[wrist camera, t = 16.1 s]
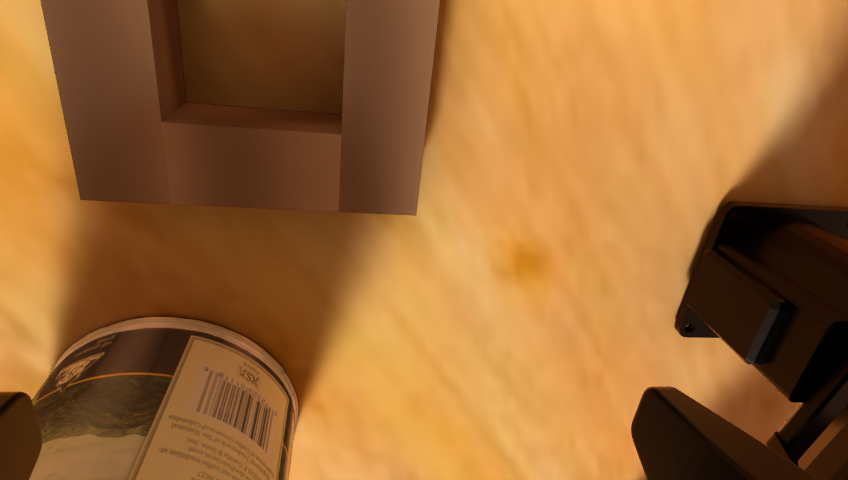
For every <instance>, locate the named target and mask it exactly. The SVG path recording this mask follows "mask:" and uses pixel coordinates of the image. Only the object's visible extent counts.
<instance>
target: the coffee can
mask: <svg viewBox="0 0 848 480" xmlns="http://www.w3.org/2000/svg"><path fill="white" fill-rule="evenodd" d="M32 404H33V407H34V410H35V413H36V417H37V420H38V423H39V427H40V430H41V433H42V448H41V452H40V455H39V457H38V460H37V462H36V465H35V467H34V469H33V472H32V474H31V477H30V479H29V480H289V472H290V464H291V456H292V448H293V439H294V434H295V431H296V426H297V421H298V401H297V397H296V393H295V390H294V387H293V385H292V383H291V381H290V379H289V377H288V376H287V374H286V372H285V371H284V369H283V367H282V366H280V365H279V364H278V362H277V361H276V360H275V359H274V358H272V357H271V356H270V355H269V354H268V353H267V352H266V351H265V350H264V349H262V348H261V347H260V346H258V345H257V344H255V343H254V342H252V341H251V340H249V339H247V338H246V337H244V336H242V335H240V334H238V333H236V332H233V331H231V330H229V329H226V328H223V327H221V326H217V325H214V324H210V323H207V322H204V321H201V320H194V319H183V318H177V317H145V318H138V319H132V320H126V321H122V322H118V323H115V324H112V325H109V326H106V327H103V328H100V329H98V330H96V331H93V332H91V333H90V334H88V335H86V336H85V337H83V338H82V339H80V340H79V341H77V342H76V343H74V344H73V345H72V346H71V347H70V348H69V349H68V350H67V351H66V352H65V353H64V354H63V355H62V356H61V357H60V358H59V360H58V361H57V362H56V364H55V365H54V367H53V369H52V371H51V373H50V375H49V377H48V378H47V380H46V381H45V383H44V384H43V385H42V387H41V388H40V389H39V391H38V392H37V393H36V395H35V396H34V398H33V399H32Z"/></svg>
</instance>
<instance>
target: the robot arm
mask: <svg viewBox="0 0 848 480" xmlns="http://www.w3.org/2000/svg"><path fill="white" fill-rule="evenodd" d="M734 212H735V214H734V216H733V217H731V218H730V216H731V215H732V214H733V213H734ZM687 325H689V326H687ZM686 326H687V327H686ZM675 329H676V330H677V331H678V333H679V334H680V335H681V336H683V337H701V338H721V339H722V340H723V341H724V342H725V343H726V344H727V345H728V346H729V347H730V348H731V349H732V350H733V351H734V352H735V353H736V354H737V355H738V356H739V357H740V358H741V359H742V360H743V361H744V362H745V363H747V364H752V365H753V366H754V367H755V368H756V369H757V370H758V371H759V372H760V373H761V374H762V375H763V376H764V377H765V378H766V379H768V380H769V381H770V382H771V383H772V384H773V385H774V386H775V387H776V388H777V389H778V390H779V391H780V392H781V393H782V394H783V395H784V396H785V397H786V398H787V399H788V400H789V401H790V402H802V403H803V404H802V405H801V406H800V407H799V408H798V410H797V411H796V412H795V413H794V414H793V416H792V417H791V418H790V419H789V420H788V422H787V423H786V424H785V425H784V426H783V428H782V429H781V430H780V431H779V432H775V433H774V434H773V435H772V436H771V438H770V439H769V440H768V441H767V443H766V444H767V446H768V447H767V446H766V445H764V444H763V443H761V442H759V441H758V440H756V439H755V438H753V437H752V436H750V435H748V434H747V433H745V432H744V431H742V430H741V429H739V428H737V427H736V426H734V425H733V424H731V423H730V422H728V421H726V420H725V419H723V418H722V417H720V416H719V415H717V414H715V413H714V412H712V411H711V410H709V409H708V408H706V407H704V406H703V405H701V404H700V403H698V402H697V401H695V400H693V399H692V398H690V397H689V396H687V395H686V394H684V393H682V392H681V391H679V390H678V389H676V388H673V387H649V388H647V389H646V390H645V391H644V393H643V395H642V398H641V401H640V403H639V406H638V408H637V411H636V414H635V416H634V419H633V421H632V426H631V433H632V438H633V442H634V445H635V447H636V450H637V453H638V456H639V458H640V461H641V464H642V467H643V470H644V472H645V475H646V478H647V480H848V208H838V207H821V206H803V205H786V204H768V203H750V202H729V203H727V204H725V205H724V206H723V207H722V208H721V209H720V211H719V213H718V215H717V218H716V220H715V223H714V225H713V228H712V230H711V233H710V235H709V238H708V241H707V243H706V246H705V248H704V251H703V253H702V256H701V258H700V261H699V263H698V266H697V269H696V271H695V274H694V276H693V279H692V281H691V284H690V286H689V289H688V291H687V294H686V296H685V299H684V302H683V304H682V307H681V309H680V312H679V314H678V317H677V319H676V322H675ZM41 448H42V433H41V430H40V427H39V423H38V420H37V417H36V413H35V410H34V407H33V404H32V400H31V398H30V397H29V396H28V395H27V394H26V393H24V392H0V480H29V479H30V477H31V474H32V472H33V469H34V467H35V465H36V462H37V460H38V457H39V455H40V452H41Z"/></svg>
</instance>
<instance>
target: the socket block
mask: <svg viewBox="0 0 848 480" xmlns="http://www.w3.org/2000/svg"><path fill="white" fill-rule="evenodd" d="M41 5H42V10H43V15H44V20H45V25H46V30H47V35H48V40H49V45H50V50H51V55H52V60H53V65H54V70H55V74H56V79H57V84H58V89H59V94H60V99H61V104H62V109H63V114H64V119H65V124H66V129H67V134H68V139H69V144H70V149H71V154H72V159H73V164H74V169H75V174H76V179H77V184H78V189H79V194H80V199H81V200H96V201H117V202H139V203H160V204H182V205H203V206H224V207H246V208H267V209H288V210H310V211H331V212H353V213H374V214H395V215H416V213H417V204H418V195H419V186H420V177H421V168H422V158H423V149H424V140H425V131H426V122H427V113H428V104H429V95H430V86H431V77H432V68H433V59H434V50H435V41H436V32H437V23H438V14H439V5H440V0H346V26H345V53H344V79H343V106H342V115H341V114H328V113H315V112H302V111H289V110H276V109H263V108H250V107H237V106H224V105H211V104H198V103H186V95H185V85H184V74H183V64H182V53H181V43H180V32H179V22H178V11H177V1H176V0H41Z"/></svg>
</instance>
